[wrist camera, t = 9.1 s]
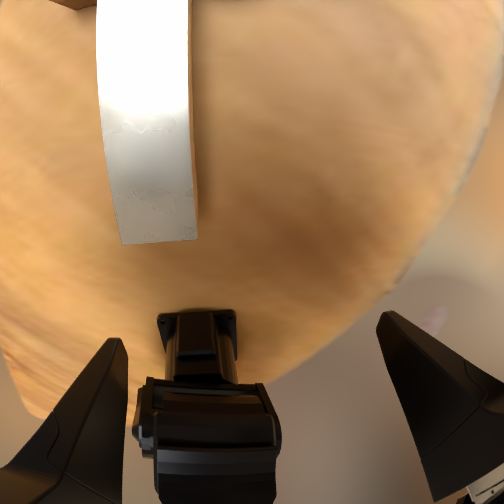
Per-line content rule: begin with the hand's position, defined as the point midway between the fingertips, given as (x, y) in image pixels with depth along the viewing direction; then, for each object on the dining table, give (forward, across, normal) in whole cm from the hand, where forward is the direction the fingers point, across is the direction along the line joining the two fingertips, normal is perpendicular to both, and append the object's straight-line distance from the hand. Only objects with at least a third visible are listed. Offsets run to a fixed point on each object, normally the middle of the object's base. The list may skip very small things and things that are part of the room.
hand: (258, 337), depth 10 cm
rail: (+12, +4, -8) cm, 15 cm away
